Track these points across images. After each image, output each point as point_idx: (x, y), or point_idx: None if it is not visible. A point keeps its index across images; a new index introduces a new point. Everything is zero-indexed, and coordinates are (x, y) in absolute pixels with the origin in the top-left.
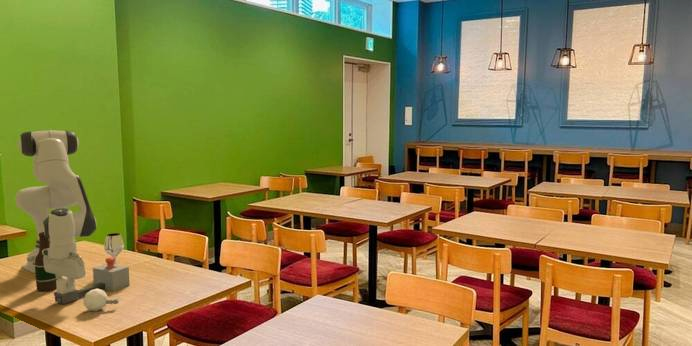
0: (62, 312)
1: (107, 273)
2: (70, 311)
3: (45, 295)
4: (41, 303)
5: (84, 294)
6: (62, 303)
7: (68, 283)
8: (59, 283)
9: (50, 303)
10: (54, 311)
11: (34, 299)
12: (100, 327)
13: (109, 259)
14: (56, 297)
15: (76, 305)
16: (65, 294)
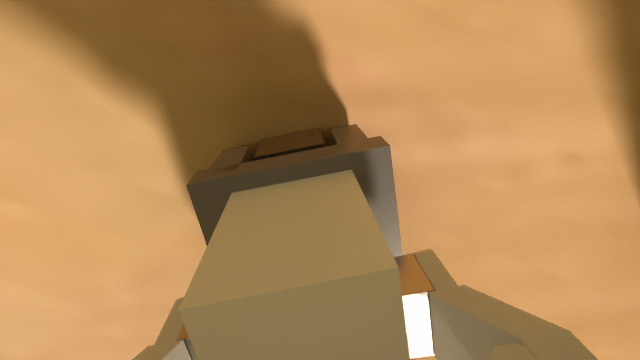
0: (24, 59)
1: None
2: (3, 122)
3: (618, 143)
4: (452, 28)
5: None
6: (238, 147)
7: (157, 347)
8: (280, 253)
9: (377, 87)
10: (111, 17)
11: (620, 31)
12: None
13: None
14: (335, 141)
15: (138, 216)
16: (194, 207)
